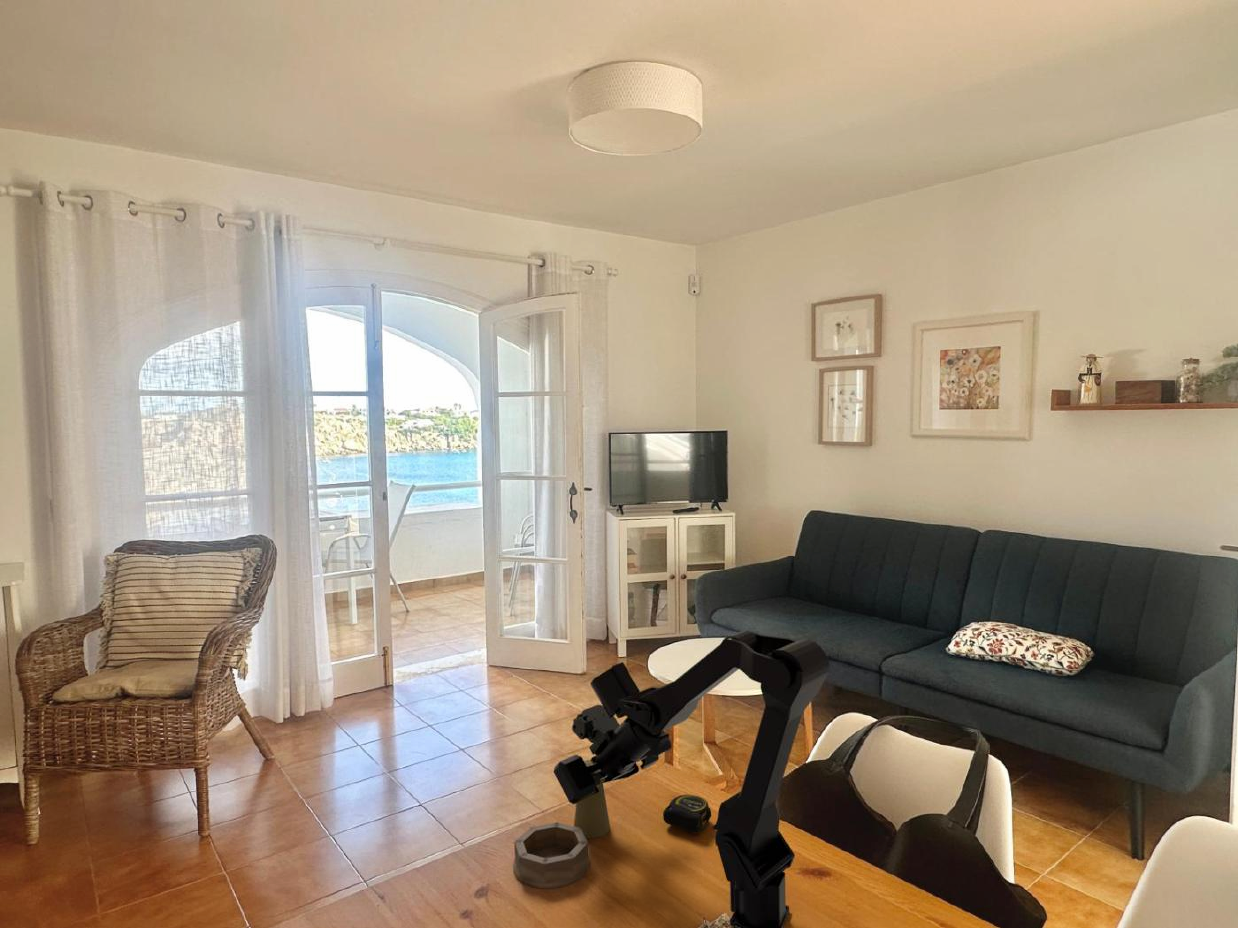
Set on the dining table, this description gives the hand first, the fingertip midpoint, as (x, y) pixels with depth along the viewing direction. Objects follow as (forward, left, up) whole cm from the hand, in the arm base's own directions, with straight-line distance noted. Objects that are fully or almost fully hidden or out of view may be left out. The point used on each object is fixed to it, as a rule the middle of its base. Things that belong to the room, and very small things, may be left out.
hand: (584, 786), depth 125 cm
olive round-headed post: (-1, 0, -7) cm, 7 cm away
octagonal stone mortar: (-1, +12, -7) cm, 14 cm away
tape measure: (-16, -7, -7) cm, 18 cm away
